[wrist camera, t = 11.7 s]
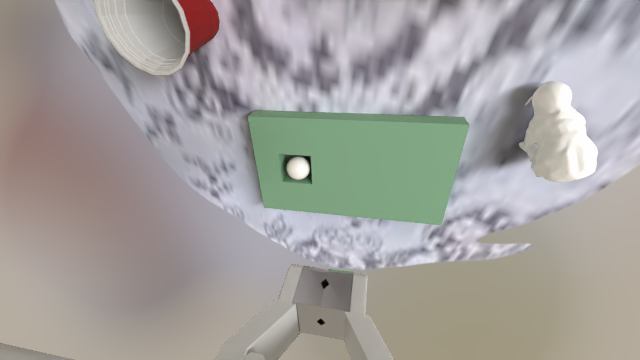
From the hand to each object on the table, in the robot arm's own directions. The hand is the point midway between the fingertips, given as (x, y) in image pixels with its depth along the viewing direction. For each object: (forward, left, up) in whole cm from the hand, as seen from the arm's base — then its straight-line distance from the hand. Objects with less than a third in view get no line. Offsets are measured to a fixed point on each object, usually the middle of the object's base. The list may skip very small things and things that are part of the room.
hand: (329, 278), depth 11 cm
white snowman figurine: (+5, +24, -34) cm, 42 cm away
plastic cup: (-8, -24, -34) cm, 43 cm away
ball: (+14, -11, -32) cm, 36 cm away
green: (+14, -2, -34) cm, 37 cm away
